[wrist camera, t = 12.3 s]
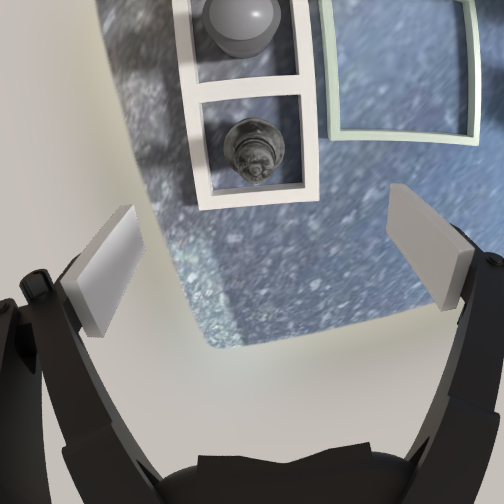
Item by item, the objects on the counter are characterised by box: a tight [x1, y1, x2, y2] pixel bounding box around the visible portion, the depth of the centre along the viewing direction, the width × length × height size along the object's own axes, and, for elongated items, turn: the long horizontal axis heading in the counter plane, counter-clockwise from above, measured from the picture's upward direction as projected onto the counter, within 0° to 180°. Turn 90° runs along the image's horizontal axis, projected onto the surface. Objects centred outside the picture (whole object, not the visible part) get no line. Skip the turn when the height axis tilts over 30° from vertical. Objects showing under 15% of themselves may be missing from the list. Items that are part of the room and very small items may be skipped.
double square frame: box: [172, 0, 319, 211], centre depth 25 cm, size 25×13×11 cm, turn 5°
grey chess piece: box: [224, 118, 285, 184], centre depth 27 cm, size 6×6×12 cm
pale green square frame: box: [318, 0, 481, 146], centre depth 26 cm, size 20×20×2 cm
